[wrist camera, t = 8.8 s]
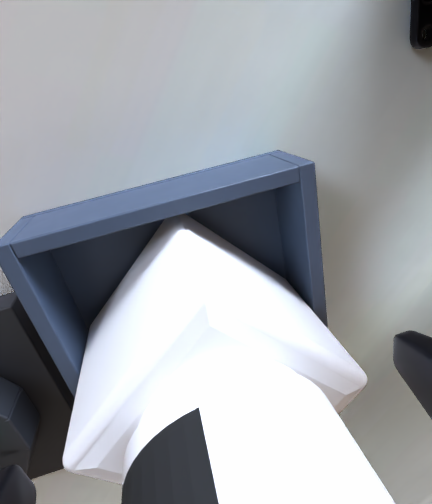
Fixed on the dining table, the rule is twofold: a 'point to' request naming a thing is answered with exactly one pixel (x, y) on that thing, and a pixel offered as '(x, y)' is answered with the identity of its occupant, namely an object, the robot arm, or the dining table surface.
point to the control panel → (30, 396)
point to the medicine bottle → (215, 385)
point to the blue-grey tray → (142, 230)
